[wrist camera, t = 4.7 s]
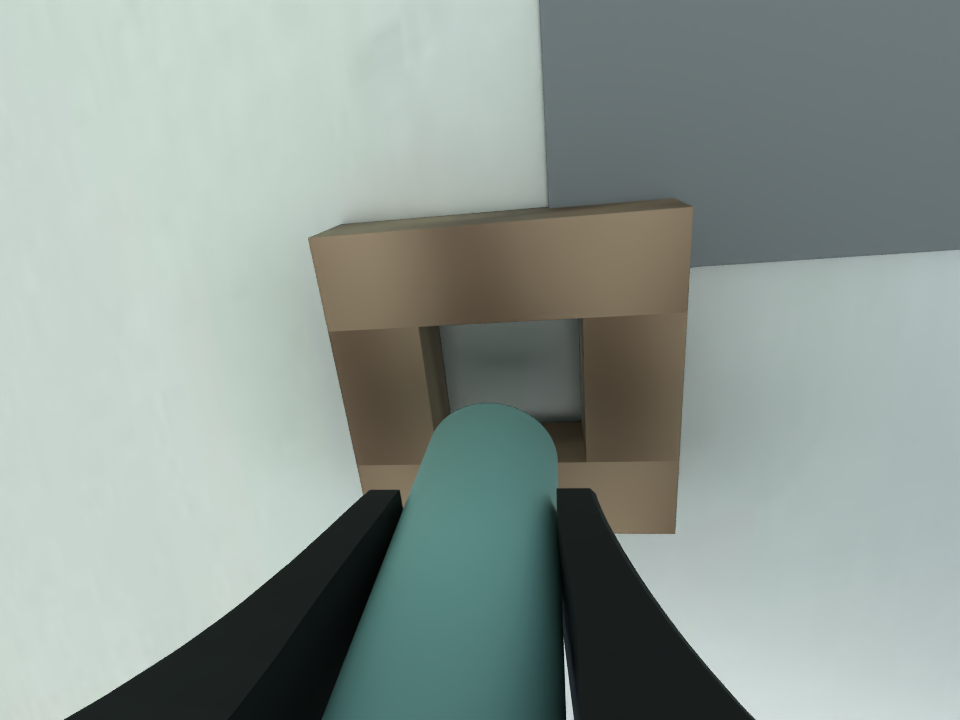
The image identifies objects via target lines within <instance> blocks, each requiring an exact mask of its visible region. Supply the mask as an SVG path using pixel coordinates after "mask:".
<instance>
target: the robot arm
mask: <svg viewBox="0 0 960 720" xmlns="http://www.w3.org/2000/svg"><path fill="white" fill-rule="evenodd" d="M556 494H557V527H558V547H559V559H560V568H561V581H562V609H563V635H564V643H565V651H566V659H567V667H568V675H569V683H570V691H571V699H572V707H573V714H574V720H755V719H754V718H753V717H752V716H751V715H750V714H749V713H748V712H747V710H746V709H745V708H744V707H743V706H742V705H741V704H740V703H739V702H738V701H737V700H736V698H735V697H734V696H733V695H732V694H731V693H730V692H729V691H728V689H727V688H726V687H725V686H724V685H723V684H722V683H721V681H720V680H719V679H718V678H717V677H716V676H715V675H714V674H713V672H712V671H711V670H710V669H709V668H708V666H707V665H706V664H705V663H704V662H703V660H702V659H701V658H700V657H699V656H698V654H697V653H696V652H695V651H694V650H693V648H692V647H691V646H690V645H689V643H688V642H687V641H686V640H685V638H684V637H683V636H682V635H681V633H680V632H679V631H678V629H677V628H676V627H675V625H674V624H673V623H672V621H671V620H670V619H669V617H668V616H667V615H666V613H665V612H664V611H663V609H662V608H661V606H660V605H659V604H658V602H657V601H656V599H655V598H654V597H653V595H652V594H651V592H650V591H649V589H648V588H647V586H646V585H645V583H644V582H643V580H642V579H641V577H640V576H639V574H638V573H637V571H636V569H635V568H634V566H633V565H632V563H631V561H630V560H629V558H628V557H627V555H626V553H625V552H624V550H623V549H622V547H621V545H620V543H619V542H618V540H617V538H616V536H615V534H614V533H613V531H612V529H611V527H610V525H609V523H608V521H607V519H606V517H605V515H604V513H603V511H602V508H601V506H600V504H599V501H598V499H597V495H596V493H595V492H594V491H593V490H591V489H590V488H556ZM402 511H403V505H402V499H401V494H400V490H369V491H368V492H367V493H366V494H364V495H363V496H362V497H361V498H360V499H359V500H358V501H357V502H356V503H354V504H353V505H352V506H351V507H350V508H349V509H348V510H347V511H346V512H345V513H344V514H343V515H342V516H340V517H339V518H338V519H337V520H336V521H335V522H334V523H333V524H332V525H331V526H330V527H329V528H328V529H327V530H325V531H324V532H323V533H322V534H321V535H320V536H319V537H318V538H317V539H316V540H314V541H313V542H312V543H311V544H310V545H309V546H308V547H307V548H306V549H305V550H303V551H302V552H301V553H300V554H299V555H298V556H297V557H296V558H295V559H293V560H292V561H291V562H290V563H289V564H288V565H286V566H285V567H284V568H283V569H282V570H280V571H279V572H278V573H277V574H276V575H274V576H273V577H272V578H271V579H270V580H268V581H267V582H266V583H265V584H264V585H262V586H261V587H260V588H259V589H258V590H256V591H255V592H254V593H253V594H252V595H250V596H249V597H248V598H247V599H246V600H244V601H243V602H242V603H240V604H239V605H238V606H237V607H235V608H234V609H233V610H231V611H230V612H229V613H227V614H226V615H225V616H223V617H222V618H221V619H219V620H218V621H217V622H215V623H214V624H213V625H211V626H210V627H208V628H207V629H206V630H204V631H203V632H201V633H200V634H199V635H197V636H196V637H194V638H193V639H192V640H190V641H189V642H187V643H186V644H185V645H183V646H182V647H180V648H179V649H177V650H176V651H174V652H173V653H171V654H170V655H168V656H167V657H165V658H164V659H162V660H160V661H159V662H157V663H156V664H154V665H153V666H151V667H149V668H148V669H146V670H145V671H143V672H142V673H140V674H138V675H137V676H135V677H134V678H132V679H131V680H129V681H127V682H126V683H124V684H123V685H121V686H120V687H118V688H116V689H115V690H113V691H112V692H110V693H109V694H107V695H105V696H104V697H102V698H100V699H99V700H97V701H95V702H94V703H92V704H90V705H88V706H87V707H85V708H83V709H81V710H80V711H78V712H76V713H75V714H73V715H71V716H69V717H68V718H66V719H64V720H321V719H322V717H323V714H324V712H325V709H326V707H327V704H328V701H329V699H330V696H331V694H332V691H333V689H334V686H335V683H336V681H337V678H338V676H339V673H340V671H341V668H342V665H343V663H344V660H345V658H346V655H347V653H348V650H349V647H350V645H351V642H352V640H353V637H354V635H355V632H356V630H357V627H358V624H359V622H360V619H361V617H362V614H363V612H364V609H365V606H366V604H367V601H368V599H369V596H370V594H371V591H372V588H373V586H374V583H375V581H376V578H377V576H378V573H379V570H380V568H381V565H382V563H383V560H384V558H385V555H386V552H387V550H388V547H389V545H390V542H391V540H392V537H393V534H394V532H395V529H396V527H397V524H398V522H399V519H400V516H401V514H402Z"/></svg>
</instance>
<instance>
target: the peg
mask: <svg viewBox="0 0 960 720" xmlns="http://www.w3.org/2000/svg"><path fill="white" fill-rule="evenodd" d="M556 488H559V487H558V459H557V452H556V448H555V445H554V442H553V440H552V438H551V437H550V435H549V433H548V432H547V431H546V429H545V428H544V427H543V426H542V425H541V424H540V423H539V422H538V421H537V420H536V419H534V418H533V417H532V416H530V415H529V414H527V413H525V412H524V411H521V410H519V409H517V408H514V407H511V406H508V405H503V404H497V403H480V404H473V405H470V406H466V407H463V408H461V409H459V410H456V411H455V412H453V413H451V414H450V415H449V416H447V417H446V418H445V419H444V420H443V421H442V422H441V423H440V424H439V425H438V426H437V428H436V429H435V431H434V433H433V435H432V437H431V439H430V442H429V445H428V447H427V450H426V452H425V455H424V457H423V460H422V463H421V465H420V468H419V470H418V473H417V475H416V478H415V481H414V483H413V486H412V488H411V491H410V493H409V496H408V498H407V501H406V504H405V506H404V509H403V511H402V514H401V516H400V519H399V522H398V524H397V527H396V529H395V532H394V534H393V537H392V540H391V542H390V545H389V547H388V550H387V552H386V555H385V558H384V560H383V563H382V565H381V568H380V570H379V573H378V576H377V578H376V581H375V583H374V586H373V588H372V591H371V594H370V596H369V599H368V601H367V604H366V606H365V609H364V612H363V614H362V617H361V619H360V622H359V624H358V627H357V630H356V632H355V635H354V637H353V640H352V642H351V645H350V647H349V650H348V653H347V655H346V658H345V660H344V663H343V665H342V668H341V671H340V673H339V676H338V678H337V681H336V683H335V686H334V689H333V691H332V694H331V696H330V699H329V701H328V704H327V707H326V709H325V712H324V714H323V717H322V719H321V720H566V701H565V670H564V640H563V609H562V581H561V568H560V559H559V547H558V527H557V494H556Z"/></svg>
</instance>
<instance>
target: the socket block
mask: <svg viewBox="0 0 960 720" xmlns="http://www.w3.org/2000/svg"><path fill="white" fill-rule="evenodd" d="M692 220H693V206H690V205H688V204H686V203H684V202H682V201H680V200H677V199H675V198H669V199H657V200H645V201H633V202H621V203H609V204H597V205H586V206H574V207H562V208H550V209H549V207H542V208H531V209H519V210H507V211H495V212H483V213H471V214H460V215H448V216H436V217H424V218H412V219H400V220H388V221H377V222H365V223H353V224H341V225H339V226H336V227H334V228H331V229H329V230H327V231H324V232H322V233H319V234H317V235H314V236H312V237H309V238H308V240H309V245H310V250H311V254H312V259H313V263H314V268H315V273H316V277H317V282H318V287H319V291H320V296H321V301H322V305H323V310H324V315H325V319H326V324H327V328H328V333H329V338H330V342H331V347H332V352H333V356H334V361H335V366H336V370H337V375H338V380H339V384H340V389H341V393H342V398H343V403H344V407H345V412H346V417H347V421H348V426H349V431H350V435H351V440H352V445H353V449H354V454H355V458H356V463H357V468H358V472H359V477H360V482H361V486H362V491H363V495H364V494H366V493H367V492H368V491H369V490H400V494H401V499H402V505H403V509H404V506H405V504H406V501H407V498H408V496H409V493H410V491H411V488H412V486H413V483H414V481H415V478H416V475H417V473H418V470H419V468H420V465H421V463H422V460H423V457H424V455H425V452H426V450H427V447H428V445H429V442H430V439H431V437H432V435H433V433H434V431H435V429H436V428H437V426H438V425H439V424H440V423H441V422H442V421H443V420H444V419H445V418H446V417H447V416H449V415H450V408H449V401H448V393H447V386H446V378H445V370H444V363H443V355H442V347H441V340H440V332H439V326H444V325H463V324H481V323H500V322H519V321H538V320H556V319H575V318H579V340H580V379H581V418H582V422H555V423H540V424H541V425H542V426H543V427H544V428H545V429H546V431H547V432H548V433H549V435H550V437H551V438H552V440H553V442H554V445H555V448H556V452H557V459H558V487H559V488H590V489H591V490H593V491H594V492H595V493H596V495H597V499H598V501H599V504H600V506H601V508H602V511H603V513H604V515H605V517H606V519H607V521H608V523H609V525H610V527H611V529H612V531H613V533H619V534H675V528H676V510H677V492H678V474H679V456H680V438H681V419H682V401H683V383H684V365H685V347H686V329H687V311H688V293H689V274H690V256H691V238H692Z"/></svg>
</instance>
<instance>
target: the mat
mask: <svg viewBox="0 0 960 720" xmlns="http://www.w3.org/2000/svg"><path fill="white" fill-rule="evenodd" d="M539 2H540V24H541V46H542V69H543V91H544V114H545V136H546V158H547V181H548V203H549V209H550V208H562V207H574V206H586V205H597V204H609V203H621V202H633V201H645V200H657V199H669V198H675V199H677V200H680V201H682V202H684V203H686V204H688V205H690V206H693V220H692V238H691V256H690V267H700V266H716V265H731V264H746V263H762V262H777V261H792V260H808V259H823V258H838V257H853V256H869V255H884V254H899V253H915V252H930V251H945V250H960V0H539Z"/></svg>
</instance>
